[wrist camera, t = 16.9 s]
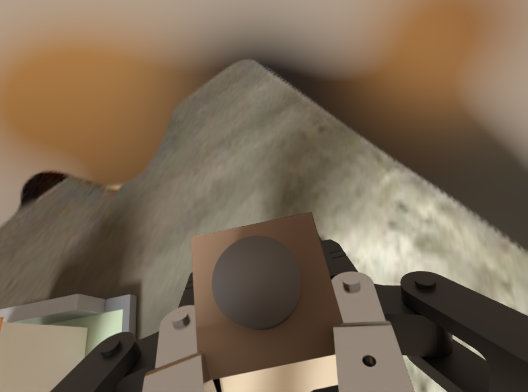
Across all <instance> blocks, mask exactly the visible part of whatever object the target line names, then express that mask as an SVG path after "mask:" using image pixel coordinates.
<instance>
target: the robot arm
mask: <svg viewBox="0 0 528 392" xmlns="http://www.w3.org/2000/svg"><path fill="white" fill-rule="evenodd" d="M318 236H319V235H318ZM319 240H320V243H321V247H322V250H323V254H324V257H325V261H326V264H327V268H328V271H329V274H330V278H331V281H332V285H333V288H334V292H335V295H336V299H337V302H338V306H339V309H340V312H341V316H342V319H343V323H333V331H334V343H335V354H336V366H337V377H338V385H334V386H330V387H325V388H320V389H315V390H313V391H311V392H415V391H414V388H413V385H412V382H411V380H410V377H409V374H408V371H407V368H406V365H405V362H404V359H403V356H402V355H407V357H408V358H409V360H410V361H411V362H412V363H413V364H415V365H416V366H417V367H418V368H419V369H421V370H422V371H423V372H424V373H425V374H427V375H428V376H429V377H430V378H431V379H433V380H434V381H435V382H436V383H437V384H439V385H440V386H441V387H442V388H444V389H445V390H446V391H447V392H528V316H527V315H525V314H522V313H520V312H518V311H516V310H514V309H512V308H509V307H507V306H505V305H503V304H501V303H499V302H497V301H494V300H492V299H490V298H488V297H486V296H484V295H481V294H479V293H477V292H475V291H473V290H471V289H469V288H466V287H464V286H462V285H460V284H458V283H456V282H454V281H451V280H449V279H447V278H445V277H443V276H441V275H438V274H435V273H432V272H426V271H416V272H411V273H408V274H406V275H404V276H403V277H402V279H401V282H400V283H401V286H387V285H378V284H374V283H373V281H372V279H371V278H370V277H369V276H367V275H365V274H363V273H360V272H358V271H357V270H356V268H355V267H354V265H353V264H352V262H351V261H350V259H349V258H348V257H347V256H346V254H345V252H344V251H343V249H342V248H341V246H340V245H339V244H338V243H336V242H335V241H333V240H331V239H329V240H324V241H322V240H321V239H320V237H319ZM452 335H454V336H456V337H457V338H459V339H460V340H462V341H463V342H465V343H467V344H468V345H470V346H471V347H473V348H474V349H476V350H477V351H478V352H480V353H481V354H482V355H483V357H484V358H485V359H486V360H487V361H486V360H485V359H483V358H481V357H480V356H478V355H477V354H475V353H474V352H472V351H471V350H469V349H468V348H466V347H464V346H463V345H461V344H460V343H458V342H457V341H455V340H454V339H452ZM50 392H224V390H223V384H222V378H219V379H214V380H210V376H209V371H208V366H207V362H206V357H205V353H203V351H199V352H197V340H196V322H195V305H194V287H193V272H192V273H191V274H190V276H189V279H188V282H187V284H186V287H185V290H184V293H183V296H182V298H181V301H180V304H179V307H178V308H177V309H175V310H173V311H172V312H170V313H169V314H168V315H167V316H166V317H165V318H164V319H163V320H162V322H161V324H160V330H159V331H158V332H156V333H154V334H152V335H150V336H148V337H145V338H143V339H141V340H139V341H136V339H135V336H134V335H133V333H131V332H120V333H117V334H114V335H112V336H110V337H108V338H106V339H105V340H103V341H102V342H101V343H99V344H98V345H97V346H96V347H95V348H94V349H93V350H92V351H91V352H90V353H89V354H88V355H87V356H86V357H85V358H84V359H83V360H82V361H81V362H80V363H79V364H78V365H77V366H76V367H75V368H74V369H73V370H72V371H71V372H70V373H68V374H67V375H66V376H65V377H64V378H63V379H62V380H61V381H60V382H59V383H58V384H57V385H56V386H55V387H54V388H53V389H52V390H51V391H50Z"/></svg>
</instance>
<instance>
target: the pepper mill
mask: <svg viewBox="0 0 528 392" xmlns="http://www.w3.org/2000/svg"><path fill="white" fill-rule="evenodd" d="M191 252H192V270H193V287H194V305H195V322H196V340H197V352H199V351H203V353H205V357H206V362H207V366H208V371H209V376H210V380H214V379H219V378H224V377H229V376H233V375H238V374H243V373H248V372H253V371H258V370H263V369H268V368H272V367H277V366H282V365H287V364H292V363H297V362H302V361H307V360H312V359H316V358H321V357H326V356H331V355H336V354H335V343H334V331H333V323H343V319H342V316H341V312H340V309H339V306H338V302H337V299H336V295H335V292H334V288H333V285H332V281H331V278H330V274H329V271H328V268H327V264H326V261H325V257H324V254H323V250H322V247H321V243H320V240H319V236H318V233H317V230H316V226H315V223H314V219H313V216H312V212H309V213H304V214H299V215H295V216H290V217H285V218H280V219H275V220H271V221H266V222H261V223H256V224H251V225H247V226H242V227H237V228H232V229H227V230H223V231H218V232H213V233H208V234H203V235H199V236H194V237H191Z"/></svg>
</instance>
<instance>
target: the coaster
mask: <svg viewBox="0 0 528 392" xmlns="http://www.w3.org/2000/svg"><path fill="white" fill-rule="evenodd" d="M222 384H223V390H224V392H311V391H313V390H315V389H320V388H325V387H330V386H334V385H338V377H337V366H336V355H331V356H326V357H321V358H316V359H312V360H307V361H302V362H297V363H292V364H287V365H282V366H277V367H272V368H268V369H263V370H258V371H253V372H248V373H243V374H238V375H233V376H229V377H224V378H222Z"/></svg>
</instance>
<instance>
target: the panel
mask: <svg viewBox="0 0 528 392" xmlns="http://www.w3.org/2000/svg"><path fill="white" fill-rule="evenodd" d="M136 304H137V296H135V295H132V294H129V295H124V296H119V297H114V298H109V299H101V298H96V297H92V296H87V295H83V294H74V295H69V296H65V297H60V298H55V299H50V300H45V301H40V302H35V303H31V304H26V305H21V306H16V307H11V308H6V309H1V310H0V317H4V318H3V322H5V323H22V324H38V325H54V326H70V327H87V328H88V331H87V340H86V349H85V357H86V356H87V355H88V354H89V353H90V352H91V351H92V350H93V349H94V348H95V347H96V346H97V345H98V344H99V343H101V342H102V341H103V340H105V339H106V338H108V337H110V336H112V335H114V334H117V333H120V332H131V333H133V335H134V336H135V333H136Z"/></svg>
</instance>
